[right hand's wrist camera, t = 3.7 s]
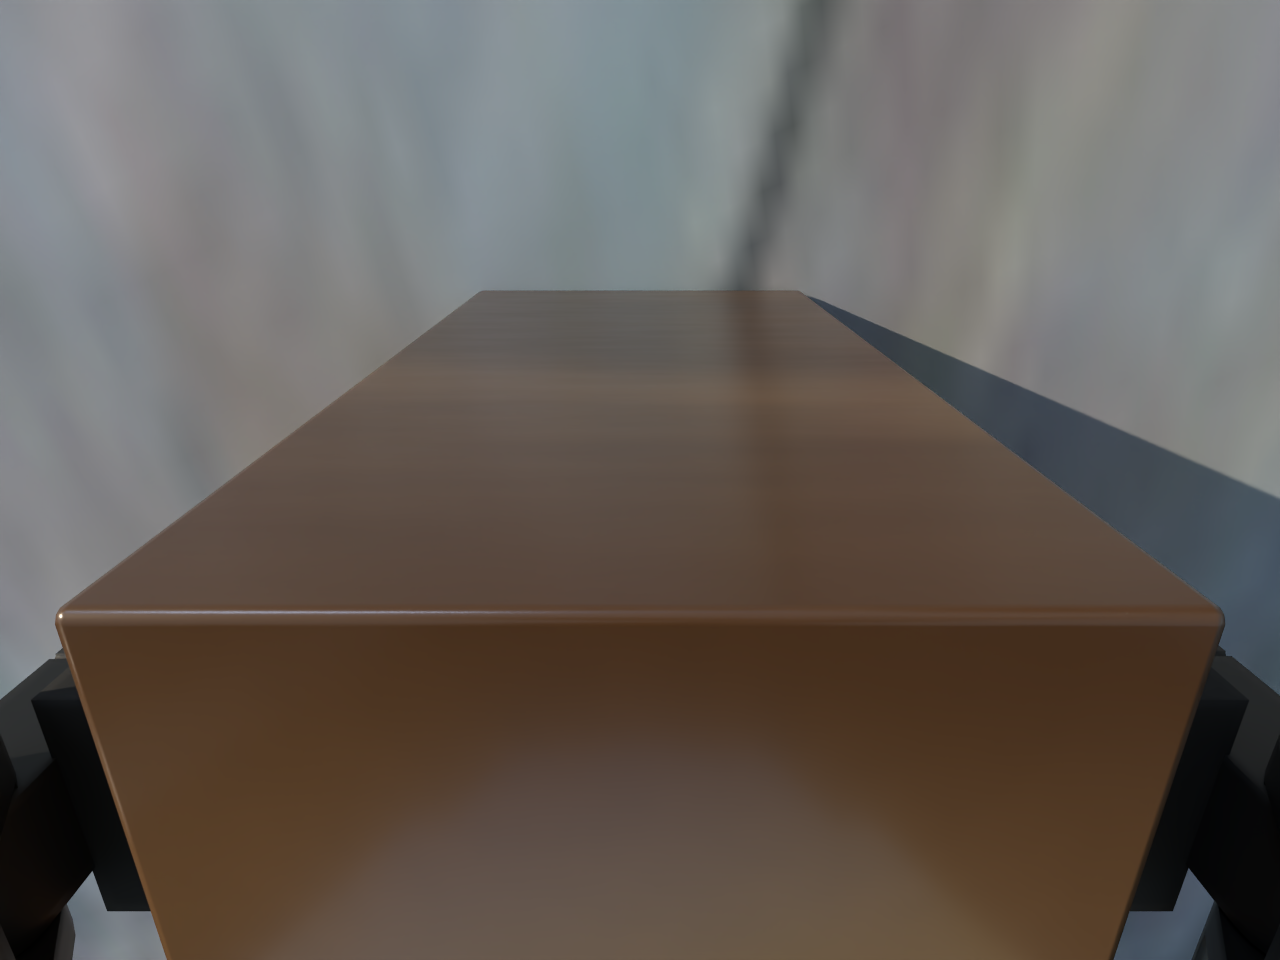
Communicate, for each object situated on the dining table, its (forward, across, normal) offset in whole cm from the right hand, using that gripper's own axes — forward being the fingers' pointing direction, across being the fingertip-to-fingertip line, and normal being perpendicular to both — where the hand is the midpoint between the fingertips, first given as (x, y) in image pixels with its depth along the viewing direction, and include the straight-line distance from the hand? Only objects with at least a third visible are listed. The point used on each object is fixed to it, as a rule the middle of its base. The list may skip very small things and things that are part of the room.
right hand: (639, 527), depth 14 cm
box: (+3, 0, -10) cm, 10 cm away
